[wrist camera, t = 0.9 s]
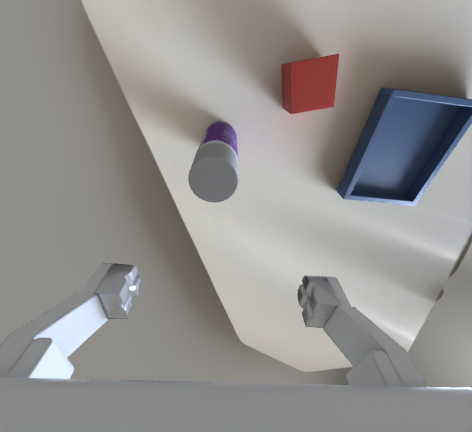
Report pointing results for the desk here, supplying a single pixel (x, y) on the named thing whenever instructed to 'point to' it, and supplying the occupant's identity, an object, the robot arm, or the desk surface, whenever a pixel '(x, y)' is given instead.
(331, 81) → the red block
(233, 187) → the container
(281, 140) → the desk surface
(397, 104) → the tray
